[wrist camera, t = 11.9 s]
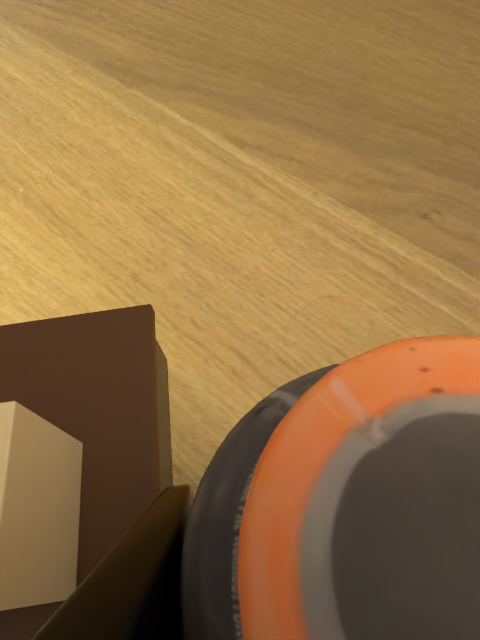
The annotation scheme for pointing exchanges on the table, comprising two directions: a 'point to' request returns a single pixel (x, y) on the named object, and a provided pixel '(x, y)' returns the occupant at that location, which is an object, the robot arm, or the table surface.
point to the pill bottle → (345, 505)
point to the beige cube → (37, 509)
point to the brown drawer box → (94, 422)
